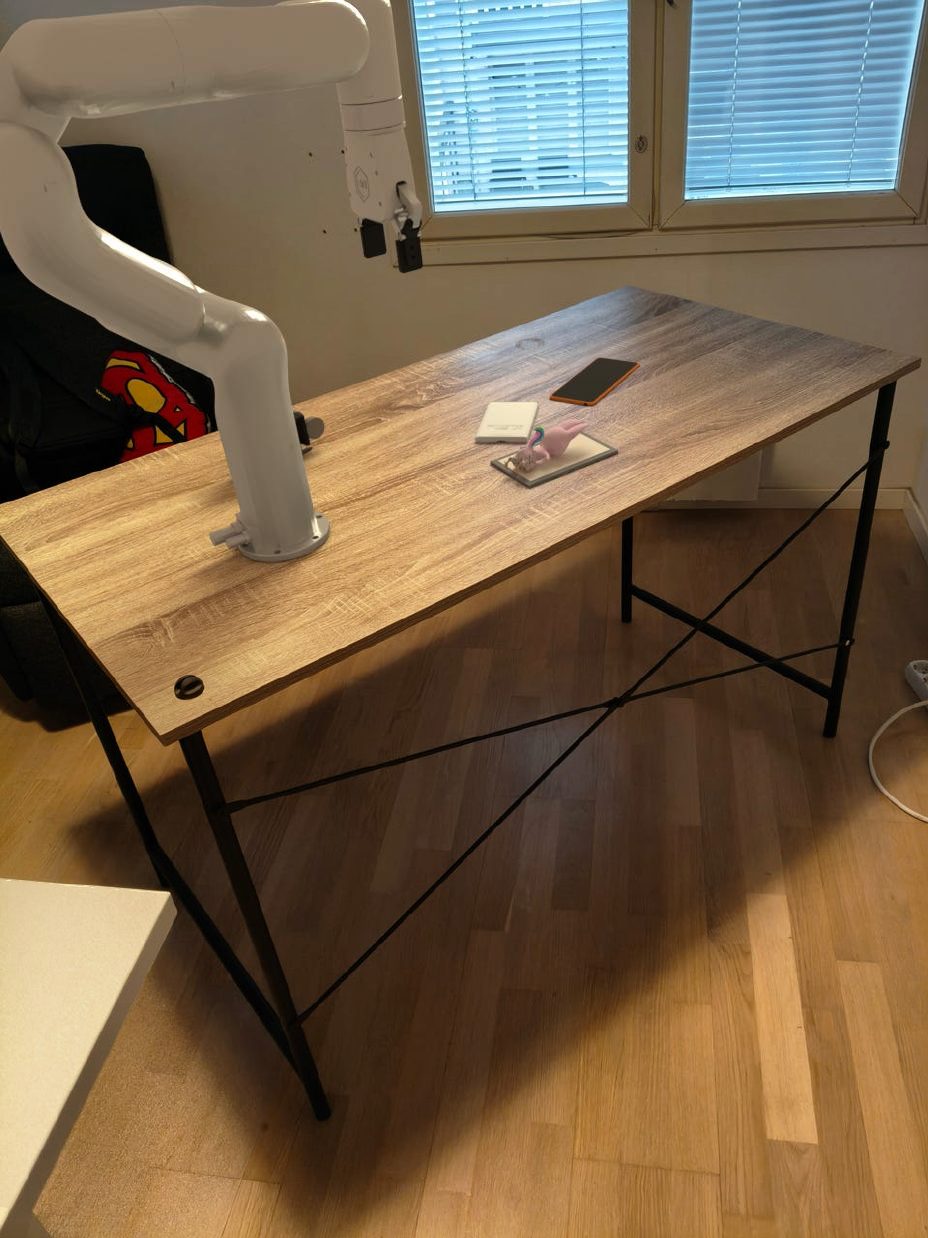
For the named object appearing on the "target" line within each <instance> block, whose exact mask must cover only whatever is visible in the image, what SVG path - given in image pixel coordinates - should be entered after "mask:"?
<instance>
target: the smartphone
mask: <svg viewBox="0 0 928 1238" xmlns="http://www.w3.org/2000/svg"><path fill="white" fill-rule="evenodd" d="M640 366H641V365H640V362H637V361H630V360H622V359H614V358H608V357H601V356H600V357H596V358H595V359H594V360H593V361H591V362H590V363H589V364H587V365H586V366H585V367H584V368H583V369H581V370H580V371H579V372H578V373H576V374H575V375H573V377H571V378H570V379H568V381H567V382H565V383H564V384H562V385H561V386H560V387H558V389H556V390H555V391H553V392H552V393H551V394H550V395H549V399H550V400H551V401H556V402H557V401H558V402H562V403H569V404H576V405H582V406H585V405H586V406H587V407H593V406H595V405H597V404H598V402H600V401H601V400H603V398H604V397H606V396H607V395H608V394H609V393H610V392H612V390H614V389H615V388H616V387H617V386H618V385H620V384H621V383H622V382H623V381H624V380H625V379H626V378H627V377H630V375H631V374H632V373H634V371H636V370H637V369H638V368H639V367H640ZM636 368H637V369H636ZM635 369H636V370H635Z"/></svg>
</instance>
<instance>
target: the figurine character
mask: <svg viewBox="0 0 928 1238" xmlns="http://www.w3.org/2000/svg"><path fill="white" fill-rule="evenodd" d="M292 410H293V409H292ZM293 415H294V419H295V424H296V429H297V433H298V438H299V442H300V447H301V452H302V454H303V453H305V452H308V451H310V450H312V449H313V446H310V445H312V444H311V440H318V439H319V438H320V437H321V436H322V435H323V434H324V431H325V422H324V420H323V419H321V418H320V417H317V416H313V415H311V416H308V417H306V418H305V415H304V414H303V413H302V412H301V411H298V410H293ZM302 445H304V446H307V447H305V448H302Z"/></svg>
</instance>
